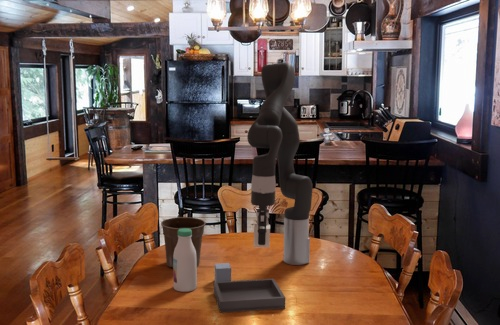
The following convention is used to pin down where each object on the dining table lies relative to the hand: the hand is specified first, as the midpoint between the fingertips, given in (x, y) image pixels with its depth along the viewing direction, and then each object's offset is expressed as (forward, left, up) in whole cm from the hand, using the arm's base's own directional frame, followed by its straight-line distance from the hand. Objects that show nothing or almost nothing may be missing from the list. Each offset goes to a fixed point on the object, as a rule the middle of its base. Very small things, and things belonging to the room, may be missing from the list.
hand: (261, 241), depth 181 cm
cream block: (0, 0, -1) cm, 1 cm away
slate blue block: (+11, -14, -18) cm, 25 cm away
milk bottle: (+24, -11, -18) cm, 32 cm away
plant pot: (+23, -34, -18) cm, 45 cm away
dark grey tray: (+5, +2, -18) cm, 19 cm away
